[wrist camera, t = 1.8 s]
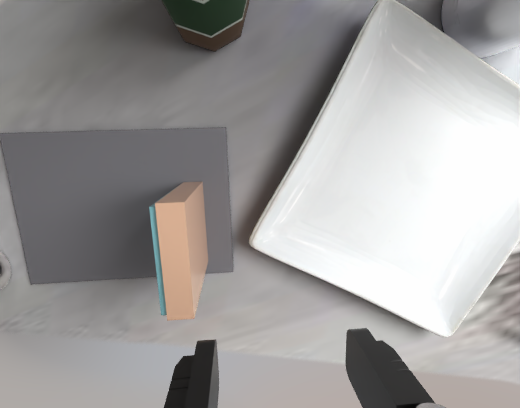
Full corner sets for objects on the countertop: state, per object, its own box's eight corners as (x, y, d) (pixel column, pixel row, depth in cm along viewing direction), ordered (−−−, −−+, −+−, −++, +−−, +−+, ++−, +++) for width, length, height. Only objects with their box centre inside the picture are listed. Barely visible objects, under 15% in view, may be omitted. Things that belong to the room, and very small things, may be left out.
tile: (202, 181, 31) (184, 202, 20) (208, 260, 33) (194, 318, 22) (178, 182, 31) (147, 203, 20) (185, 262, 32) (160, 321, 22)
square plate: (365, 6, 29) (384, -14, 26) (558, 135, 34) (599, 134, 30) (244, 235, 33) (245, 247, 30) (431, 324, 38) (452, 344, 34)
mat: (225, 127, 30) (225, 127, 30) (233, 269, 34) (233, 271, 33) (3, 133, 29) (-1, 133, 28) (34, 282, 32) (31, 284, 32)
